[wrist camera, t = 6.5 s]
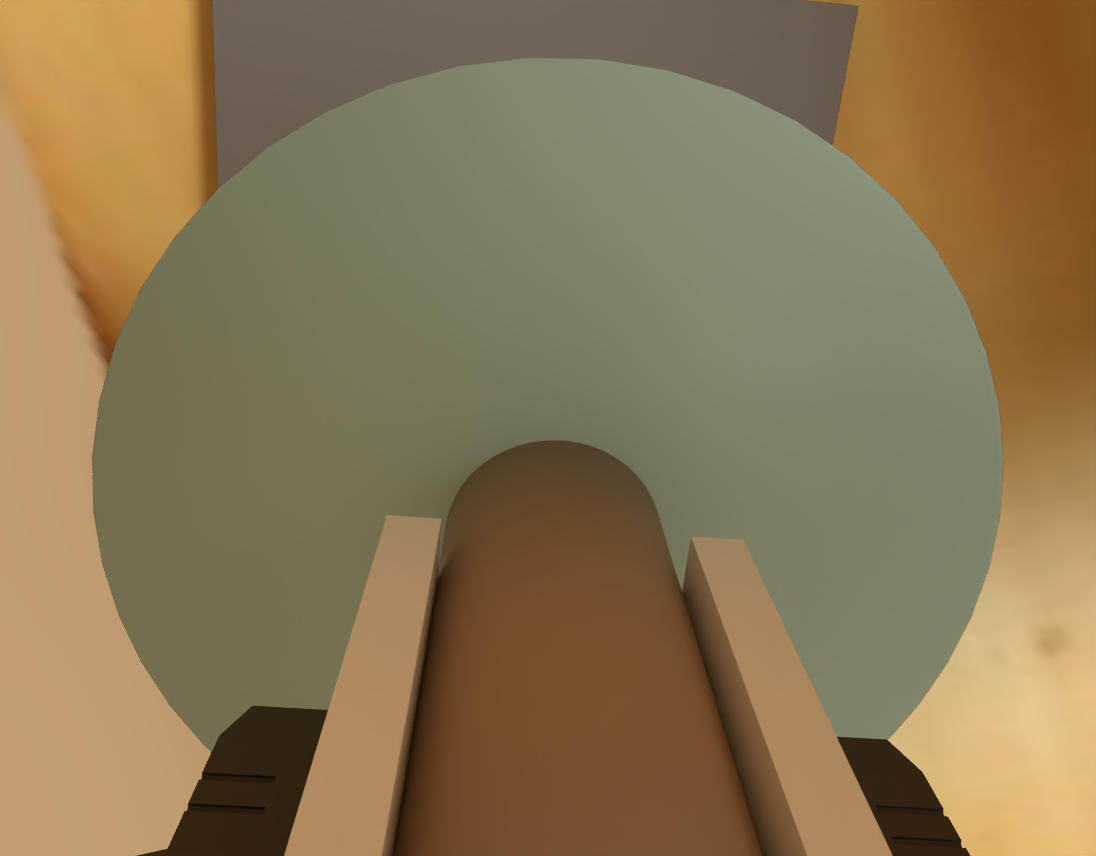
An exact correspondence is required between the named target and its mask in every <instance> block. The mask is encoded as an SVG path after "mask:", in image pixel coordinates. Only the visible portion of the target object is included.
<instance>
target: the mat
mask: <svg viewBox="0 0 1096 856" xmlns="http://www.w3.org/2000/svg"><path fill="white" fill-rule="evenodd" d="M212 8H213V41H214V73H215V106H216V139H217V171H218V189H219V188H220V187H221V186H222V185H223V184H225V183H226V182H227V181H228V180H230V179H231V178H232V177H233V176H234V175H236V174H237V173H238V172H239V171H240V170H242V169H243V168H244V167H245V166H246V165H248V164H249V163H250V162H251V161H252V160H254V159H255V158H256V157H257V156H258V155H260V154H261V153H262V152H263V151H264V150H266V149H267V148H268V147H270V146H271V145H273V144H275V143H276V142H278V141H279V140H281V139H283V138H284V137H286V136H288V135H289V134H291V133H293V132H294V131H296V130H298V129H299V128H301V127H302V126H304V125H306V124H307V123H309V122H311V121H312V120H314V119H316V118H317V117H319V116H321V115H322V114H324V113H325V112H327V111H330V110H332V109H334V108H337V107H339V106H341V105H344V104H346V103H348V102H351V101H353V100H355V99H358V98H360V97H363V96H365V95H367V94H370V93H372V92H374V91H377V90H379V89H381V88H384V87H386V86H388V85H391V84H395V83H398V82H402V81H406V80H410V79H413V78H417V77H421V76H424V75H428V74H432V73H436V72H439V71H443V70H447V69H451V68H454V67H458V66H466V65H474V64H483V63H491V62H499V61H508V60H516V59H524V58H556V59H600V60H606V61H612V62H618V63H625V64H631V65H637V66H643V67H649V68H655V69H661V70H667V71H671V72H674V73H678V74H681V75H684V76H687V77H690V78H694V79H697V80H700V81H703V82H706V83H710V84H713V85H716V86H719V87H722V88H725V89H729V90H732V91H735V92H737V93H739V94H741V95H743V96H745V97H747V98H749V99H752V100H754V101H756V102H758V103H760V104H762V105H764V106H766V107H768V108H770V109H772V110H774V111H776V112H779V113H781V114H783V115H785V116H787V117H789V118H791V119H793V120H795V121H797V122H798V123H800V124H801V125H803V126H804V127H806V128H807V129H809V130H810V131H812V132H813V133H815V134H816V135H817V136H819V137H820V138H822V139H823V140H825V141H826V142H828V143H829V144H831V145H832V143H833V138H834V133H835V128H836V122H837V117H838V112H839V106H840V101H841V96H842V91H843V85H844V80H845V75H846V69H847V64H848V59H849V54H850V48H851V43H852V38H853V33H854V27H855V22H856V17H857V11H858V6H851V5H842V4H832V3H823V2H813V1H804V0H212Z"/></svg>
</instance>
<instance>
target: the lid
mask: <svg viewBox="0 0 1096 856" xmlns="http://www.w3.org/2000/svg"><path fill="white" fill-rule="evenodd" d="M92 465H93V508H94V509H93V510H94V517H95V523H96V528H97V535H98V541H99V547H100V552H101V558H102V564H103V567H104V571H105V574H106V577H107V580H108V583H109V586H110V589H111V592H112V595H113V599H114V602H115V605H116V608H117V611H118V614H119V616H120V619H121V621H122V623H123V625H124V627H125V629H126V631H127V633H128V635H129V637H130V639H131V641H132V644H133V646H134V648H135V650H136V652H137V654H138V656H139V658H140V660H141V662H142V664H143V665H144V667H145V668H146V670H147V671H148V673H149V674H150V676H151V677H152V679H153V681H154V682H155V684H156V685H157V687H158V688H159V690H160V691H161V693H162V694H163V696H164V697H165V699H166V700H167V702H168V703H169V705H170V706H171V707H172V709H173V710H174V711H175V712H176V713H177V714H178V716H179V717H180V718H181V719H182V720H183V721H184V723H185V724H186V725H187V726H188V727H189V728H190V729H191V730H192V732H193V733H194V734H195V735H196V736H197V738H198V739H199V740H200V741H201V742H202V744H203V745H204V746H206V747H207V748H208V749H209V750H210V751H211V752H212V750H213V748H214V746H215V744H216V741H217V739H218V737H219V735H220V734H221V733H223V732H224V731H225V730H226V729H227V728H228V727H229V726H230V725H231V724H232V723H234V722H235V721H236V720H237V719H238V718H239V717H240V716H241V715H242V714H244V713H245V712H246V711H247V710H248V709H249V708H250V707H251V706H269V707H286V708H303V709H320V710H328V709H329V705H330V702H331V699H332V696H333V692H334V689H335V686H336V682H337V679H338V676H339V672H340V669H341V666H342V662H343V659H344V656H345V653H346V649H347V646H348V643H349V639H350V636H351V633H352V629H353V626H354V623H355V619H356V616H357V613H358V609H359V606H360V603H361V600H362V596H363V593H364V590H365V586H366V583H367V580H368V576H369V573H370V570H371V566H372V563H373V560H374V556H375V553H376V550H377V547H378V543H379V540H380V537H381V533H382V530H383V527H384V523H385V520H386V517H387V515H393V516H407V517H422V518H436V519H441V535H440V552H439V570H438V583H437V589H436V595H435V601H434V607H433V613H432V619H431V625H430V632H429V638H428V644H427V650H426V656H425V662H424V668H423V674H422V681H421V687H420V693H419V699H418V705H417V711H416V717H415V723H414V730H413V736H412V742H411V748H410V754H409V760H408V766H407V772H406V779H405V785H404V791H403V797H402V803H401V809H400V815H399V821H398V828H397V834H396V840H395V846H394V852H393V856H763V853H762V850H761V847H760V843H759V840H758V837H757V834H756V830H755V827H754V824H753V821H752V817H751V814H750V811H749V808H748V805H747V801H746V798H745V795H744V792H743V788H742V785H741V782H740V779H739V775H738V772H737V769H736V766H735V762H734V759H733V756H732V753H731V749H730V746H729V743H728V740H727V736H726V733H725V730H724V727H723V723H722V720H721V717H720V714H719V710H718V707H717V704H716V701H715V697H714V694H713V691H712V688H711V684H710V681H709V678H708V675H707V671H706V668H705V665H704V662H703V658H702V655H701V652H700V649H699V645H698V642H697V639H696V636H695V632H694V629H693V626H692V623H691V619H690V616H689V613H688V610H687V606H686V603H685V600H684V597H683V593H682V588H683V582H684V576H685V570H686V564H687V558H688V552H689V545H690V539H691V536H693V537H707V538H721V539H735V540H744V542H745V545H746V547H747V549H748V551H749V553H750V555H751V557H752V559H753V561H754V564H755V566H756V568H757V570H758V572H759V574H760V576H761V578H762V580H763V583H764V585H765V587H766V589H767V591H768V593H769V595H770V597H771V600H772V602H773V604H774V606H775V608H776V610H777V612H778V614H779V616H780V619H781V621H782V623H783V625H784V627H785V629H786V631H787V633H788V635H789V638H790V640H791V642H792V644H793V646H794V648H795V650H796V652H797V654H798V657H799V659H800V661H801V663H802V665H803V667H804V669H805V671H806V674H807V676H808V678H809V680H810V682H811V684H812V686H813V688H814V690H815V693H816V695H817V697H818V699H819V701H820V703H821V705H822V707H823V709H824V712H825V714H826V716H827V718H828V720H829V722H830V724H831V726H832V728H833V731H834V733H835V735H836V736H837V737H854V738H871V739H887V740H888V739H889V738H890V737H891V736H892V735H893V733H894V732H895V731H896V730H897V729H898V728H899V727H900V725H901V724H902V723H903V722H904V721H905V720H906V719H907V718H908V716H909V715H910V714H911V713H912V712H913V711H914V710H915V708H916V707H917V706H918V705H919V704H920V702H921V701H922V699H923V698H924V696H925V695H926V693H927V692H928V691H929V689H930V688H931V686H932V685H933V683H934V682H935V680H936V679H937V677H938V676H939V675H940V673H941V672H942V670H943V669H944V667H945V666H946V664H947V663H948V661H949V659H950V657H951V655H952V653H953V651H954V649H955V647H956V645H957V644H958V642H959V640H960V638H961V636H962V634H963V632H964V630H965V628H966V626H967V624H968V622H969V620H970V618H971V616H972V613H973V611H974V608H975V605H976V602H977V599H978V597H979V594H980V591H981V588H982V586H983V583H984V580H985V577H986V574H987V572H988V569H989V565H990V560H991V555H992V551H993V546H994V541H995V536H996V532H997V527H998V522H999V518H1000V506H1001V491H1002V476H1003V451H1002V438H1001V425H1000V412H999V405H998V401H997V397H996V392H995V388H994V383H993V379H992V375H991V370H990V366H989V362H988V357H987V353H986V351H985V348H984V346H983V343H982V341H981V338H980V335H979V333H978V330H977V328H976V325H975V323H974V320H973V318H972V315H971V313H970V310H969V308H968V305H967V303H966V300H965V298H964V297H963V295H962V293H961V291H960V290H959V288H958V286H957V285H956V283H955V281H954V279H953V278H952V276H951V274H950V273H949V271H948V269H947V267H946V266H945V264H944V262H943V261H942V259H941V257H940V255H939V254H938V252H937V250H936V248H935V247H934V246H933V245H932V243H931V242H930V241H929V240H928V239H927V237H926V236H925V235H924V234H923V232H922V231H921V230H920V229H919V227H918V226H917V225H916V224H915V222H914V221H913V220H912V219H911V217H910V216H909V215H908V214H907V212H906V211H905V210H904V209H903V208H902V206H901V205H900V204H899V203H898V201H897V200H896V199H895V198H894V197H893V196H891V195H890V194H889V193H888V192H887V191H886V190H885V189H884V188H883V187H882V186H881V185H879V184H878V183H877V182H876V181H875V180H874V179H873V178H872V177H871V176H870V175H869V174H867V173H866V172H865V171H864V170H863V169H862V168H861V167H860V166H859V165H858V164H857V163H855V162H854V161H853V160H852V159H851V158H850V157H849V156H847V155H846V154H844V153H843V152H841V151H840V150H838V149H837V148H835V147H834V146H832V145H831V144H829V143H828V142H826V141H825V140H823V139H822V138H820V137H819V136H817V135H816V134H815V133H813V132H812V131H810V130H809V129H807V128H806V127H804V126H803V125H801V124H800V123H798V122H797V121H795V120H793V119H791V118H789V117H787V116H785V115H783V114H781V113H779V112H776V111H774V110H772V109H770V108H768V107H766V106H764V105H762V104H760V103H758V102H756V101H754V100H752V99H749V98H747V97H745V96H743V95H741V94H739V93H737V92H735V91H732V90H729V89H725V88H722V87H719V86H716V85H713V84H710V83H706V82H703V81H700V80H697V79H694V78H690V77H687V76H684V75H681V74H678V73H674V72H671V71H667V70H661V69H655V68H649V67H643V66H637V65H631V64H625V63H618V62H612V61H606V60H600V59H556V58H524V59H516V60H508V61H499V62H491V63H483V64H474V65H466V66H458V67H454V68H451V69H447V70H443V71H439V72H436V73H432V74H428V75H424V76H421V77H417V78H413V79H410V80H406V81H402V82H398V83H395V84H391V85H388V86H386V87H384V88H381V89H379V90H377V91H374V92H372V93H370V94H367V95H365V96H363V97H360V98H358V99H355V100H353V101H351V102H348V103H346V104H344V105H341V106H339V107H337V108H334V109H332V110H330V111H327V112H325V113H324V114H322V115H321V116H319V117H317V118H316V119H314V120H312V121H311V122H309V123H307V124H306V125H304V126H302V127H301V128H299V129H298V130H296V131H294V132H293V133H291V134H289V135H288V136H286V137H284V138H283V139H281V140H279V141H278V142H276V143H275V144H273V145H271V146H270V147H268V148H267V149H266V150H264V151H263V152H262V153H261V154H260V155H258V156H257V157H256V158H255V159H254V160H252V161H251V162H250V163H249V164H248V165H246V166H245V167H244V168H243V169H242V170H240V171H239V172H238V173H237V174H236V175H234V176H233V177H232V178H231V179H230V180H228V181H227V182H226V183H225V184H223V185H222V186H221V187H220V188H219V189H217V191H216V192H215V193H214V194H213V195H212V196H211V197H210V198H209V200H208V201H207V202H206V203H205V204H204V205H203V206H202V207H201V208H200V210H199V211H198V212H197V213H196V214H195V215H194V216H193V217H192V218H191V220H190V221H189V222H188V223H187V224H186V225H185V226H184V227H183V229H182V230H181V231H180V232H179V233H178V234H177V235H176V236H175V238H174V239H173V241H172V242H171V244H170V245H169V247H168V248H167V250H166V251H165V253H164V254H163V256H162V257H161V259H160V260H159V262H158V263H157V265H156V266H155V268H154V270H153V271H152V273H151V274H150V276H149V277H148V279H147V280H146V282H145V283H144V285H143V286H142V288H141V289H140V292H139V294H138V296H137V298H136V300H135V302H134V305H133V307H132V309H131V311H130V313H129V316H128V318H127V320H126V322H125V324H124V326H123V329H122V331H121V333H120V335H119V337H118V340H117V342H116V344H115V347H114V351H113V354H112V358H111V361H110V365H109V368H108V372H107V375H106V379H105V382H104V386H103V390H102V393H101V396H100V400H99V408H98V415H97V423H96V431H95V439H94V447H93V455H92Z"/></svg>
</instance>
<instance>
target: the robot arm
mask: <svg viewBox="0 0 1096 856" xmlns="http://www.w3.org/2000/svg"><path fill="white" fill-rule="evenodd" d="M440 535H441V519H436V518H422V517H407V516H393V515H387V517H386V520H385V523H384V527H383V530H382V533H381V537H380V540H379V543H378V547H377V550H376V553H375V556H374V560H373V563H372V566H371V570H370V573H369V576H368V580H367V583H366V586H365V590H364V593H363V596H362V600H361V603H360V606H359V609H358V613H357V616H356V619H355V623H354V626H353V629H352V633H351V636H350V639H349V643H348V646H347V649H346V653H345V656H344V659H343V662H342V666H341V669H340V672H339V676H338V679H337V682H336V686H335V689H334V692H333V696H332V699H331V702H330V705H329V709H328V710H320V709H303V708H286V707H269V706H251V707H250V708H249V709H248V710H247V711H246V712H245V713H244V714H242V715H241V716H240V717H239V718H238V719H237V720H236V721H235V722H234V723H232V724H231V725H230V726H229V727H228V728H227V729H226V730H225V731H224V732H223V733H221V734H220V735H219V737H218V739H217V741H216V744H215V746H214V748H213V750H212V752H211V755H210V757H209V759H208V761H207V764H206V766H205V768H204V770H203V772H202V779H201V780H199V781H198V783H197V786H196V788H195V790H194V792H193V795H192V797H191V799H190V801H189V803H188V810H187V811H185V812H184V814H183V816H182V819H181V821H180V823H179V825H178V827H177V829H176V832H175V834H174V836H173V838H172V840H171V843H170V845H169V847H168V849H166V850H160V851H156V852H151V853H147V854H142V855H138V856H393V852H394V846H395V840H396V834H397V828H398V821H399V815H400V809H401V803H402V797H403V791H404V785H405V779H406V772H407V766H408V760H409V754H410V748H411V742H412V736H413V730H414V723H415V717H416V711H417V705H418V699H419V693H420V687H421V681H422V674H423V668H424V662H425V656H426V650H427V644H428V638H429V632H430V625H431V619H432V613H433V607H434V601H435V595H436V589H437V583H438V570H439V552H440ZM682 593H683V597H684V600H685V603H686V606H687V610H688V613H689V616H690V619H691V623H692V626H693V629H694V632H695V636H696V639H697V642H698V645H699V649H700V652H701V655H702V658H703V662H704V665H705V668H706V671H707V675H708V678H709V681H710V684H711V688H712V691H713V694H714V697H715V701H716V704H717V707H718V710H719V714H720V717H721V720H722V723H723V727H724V730H725V733H726V736H727V740H728V743H729V746H730V749H731V753H732V756H733V759H734V762H735V766H736V769H737V772H738V775H739V779H740V782H741V785H742V788H743V792H744V795H745V798H746V801H747V805H748V808H749V811H750V814H751V817H752V821H753V824H754V827H755V830H756V834H757V837H758V840H759V843H760V847H761V850H762V853H763V856H970V855H969V853H968V851H967V849H966V848H962V846H961V839H960V837H959V835H958V834H957V832H956V830H955V828H954V827H953V825H952V823H951V821H950V820H949V818H948V816H944V814H943V807H942V806H941V804H940V802H939V800H938V799H937V797H936V795H935V793H934V792H933V790H932V788H931V786H930V785H929V783H928V781H927V779H926V778H925V776H924V774H923V772H922V771H921V770H920V769H918V768H917V767H916V766H915V765H914V764H913V763H912V762H911V761H910V760H909V759H908V758H906V757H905V756H904V755H903V754H902V753H901V752H900V751H899V750H898V749H897V748H895V747H894V746H893V745H892V744H891V743H890V742H889V741H888V740H887V739H871V738H854V737H837V736H836V735H835V733H834V731H833V728H832V726H831V724H830V722H829V720H828V718H827V716H826V714H825V712H824V709H823V707H822V705H821V703H820V701H819V699H818V697H817V695H816V693H815V690H814V688H813V686H812V684H811V682H810V680H809V678H808V676H807V674H806V671H805V669H804V667H803V665H802V663H801V661H800V659H799V657H798V654H797V652H796V650H795V648H794V646H793V644H792V642H791V640H790V638H789V635H788V633H787V631H786V629H785V627H784V625H783V623H782V621H781V619H780V616H779V614H778V612H777V610H776V608H775V606H774V604H773V602H772V600H771V597H770V595H769V593H768V591H767V589H766V587H765V585H764V583H763V580H762V578H761V576H760V574H759V572H758V570H757V568H756V566H755V564H754V561H753V559H752V557H751V555H750V553H749V551H748V549H747V547H746V545H745V542H744V540H735V539H721V538H707V537H693V536H691V539H690V545H689V552H688V558H687V564H686V570H685V576H684V582H683V588H682Z"/></svg>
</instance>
